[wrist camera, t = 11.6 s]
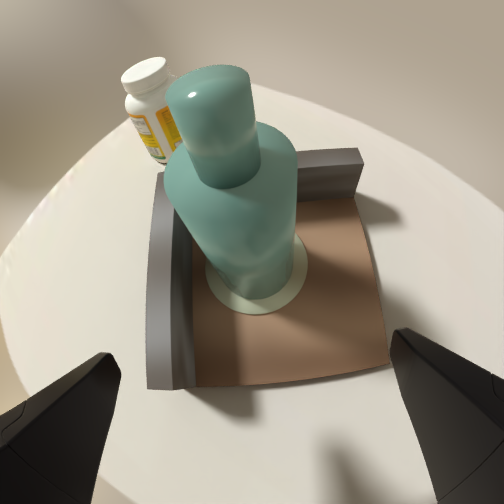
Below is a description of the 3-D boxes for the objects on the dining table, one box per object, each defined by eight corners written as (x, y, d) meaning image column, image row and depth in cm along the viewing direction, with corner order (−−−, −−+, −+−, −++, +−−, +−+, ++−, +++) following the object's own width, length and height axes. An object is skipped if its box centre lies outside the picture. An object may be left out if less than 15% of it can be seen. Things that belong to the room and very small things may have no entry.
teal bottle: (297, 294, 18) (318, 127, 5) (221, 303, 18) (103, 166, 6) (287, 226, 20) (281, 41, 7) (218, 235, 20) (142, 68, 8)
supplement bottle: (148, 169, 25) (104, 95, 16) (155, 134, 27) (121, 65, 19) (200, 158, 25) (168, 74, 16) (202, 123, 27) (177, 47, 18)
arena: (385, 363, 16) (415, 360, 12) (179, 386, 17) (147, 389, 13) (347, 187, 22) (357, 147, 17) (179, 208, 23) (157, 172, 18)
